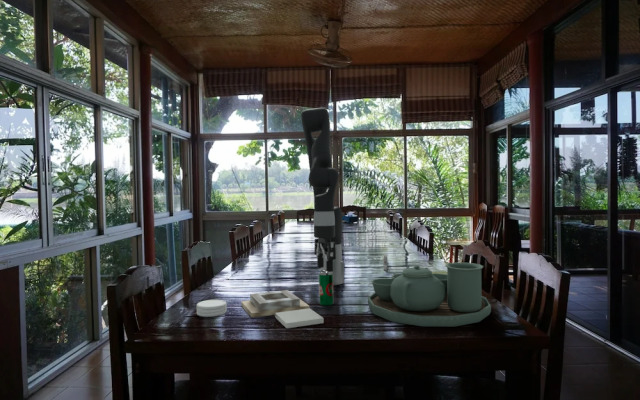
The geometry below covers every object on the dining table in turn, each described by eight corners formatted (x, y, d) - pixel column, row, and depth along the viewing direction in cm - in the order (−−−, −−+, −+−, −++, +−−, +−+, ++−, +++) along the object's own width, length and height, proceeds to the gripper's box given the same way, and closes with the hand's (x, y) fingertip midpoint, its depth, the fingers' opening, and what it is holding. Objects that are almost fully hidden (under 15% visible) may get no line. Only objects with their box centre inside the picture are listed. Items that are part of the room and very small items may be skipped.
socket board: (294, 299, 164) (294, 288, 164) (309, 310, 150) (309, 298, 149) (241, 305, 157) (241, 294, 157) (251, 317, 142) (251, 305, 142)
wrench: (386, 267, 239) (387, 271, 210) (382, 267, 240) (383, 271, 210) (386, 252, 240) (387, 254, 210) (382, 252, 240) (383, 254, 211)
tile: (309, 312, 146) (309, 308, 146) (323, 322, 135) (323, 318, 135) (275, 317, 142) (275, 312, 142) (286, 328, 131) (286, 323, 131)
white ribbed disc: (193, 311, 151) (193, 301, 151) (221, 307, 156) (221, 297, 156) (200, 319, 142) (200, 308, 142) (230, 314, 147) (230, 304, 147)
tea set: (479, 296, 164) (478, 252, 164) (500, 332, 125) (500, 274, 124) (372, 293, 172) (372, 251, 172) (361, 325, 133) (360, 271, 132)
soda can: (318, 302, 159) (318, 269, 158) (332, 302, 159) (332, 269, 159) (320, 306, 154) (319, 272, 153) (334, 306, 154) (333, 272, 154)
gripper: (342, 225, 150) (342, 272, 150) (326, 222, 163) (327, 265, 164) (321, 225, 147) (322, 273, 148) (307, 223, 161) (308, 267, 161)
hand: (324, 269), depth 156 cm, fingers open, 8 cm apart
